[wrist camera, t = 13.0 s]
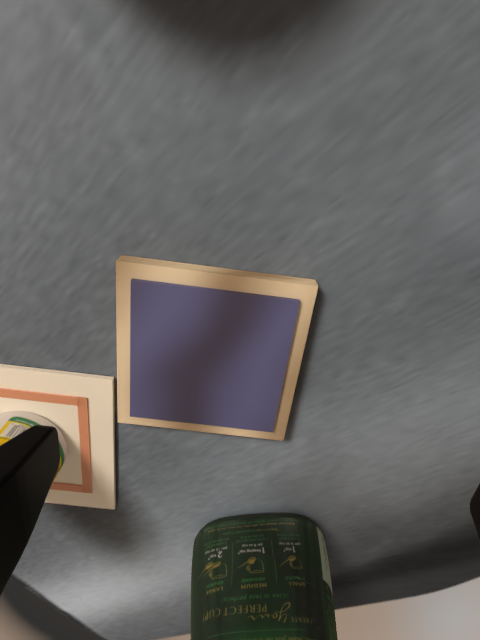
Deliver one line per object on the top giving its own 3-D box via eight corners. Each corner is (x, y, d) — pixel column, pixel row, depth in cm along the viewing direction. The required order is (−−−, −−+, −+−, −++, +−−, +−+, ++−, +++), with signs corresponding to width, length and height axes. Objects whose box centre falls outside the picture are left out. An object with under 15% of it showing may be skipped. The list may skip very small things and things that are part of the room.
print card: (114, 376, 23) (111, 380, 22) (115, 505, 27) (114, 510, 27) (-76, 355, 22) (-82, 358, 22) (-42, 489, 27) (-46, 494, 27)
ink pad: (315, 279, 20) (319, 288, 19) (282, 429, 24) (283, 444, 23) (121, 255, 20) (113, 262, 18) (122, 411, 24) (116, 425, 23)
